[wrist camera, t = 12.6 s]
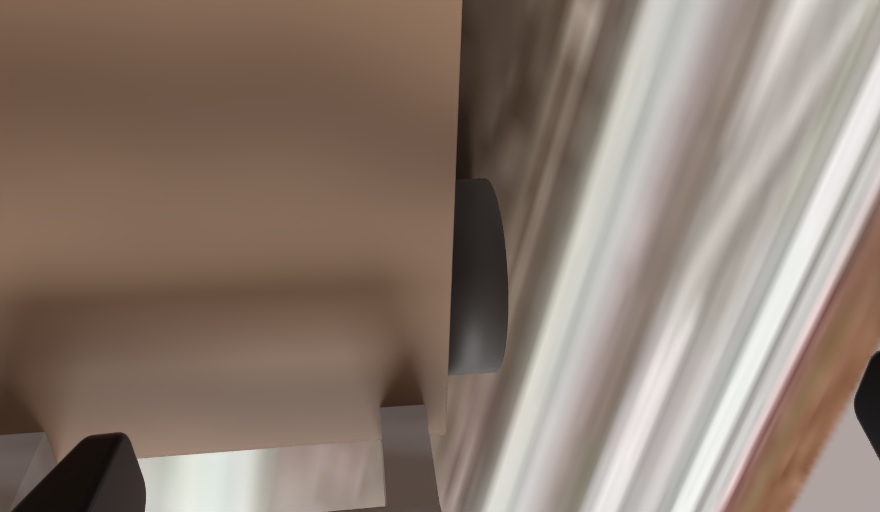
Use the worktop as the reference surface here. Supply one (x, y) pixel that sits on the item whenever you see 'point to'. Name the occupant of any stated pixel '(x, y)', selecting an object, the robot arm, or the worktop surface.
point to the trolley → (238, 231)
